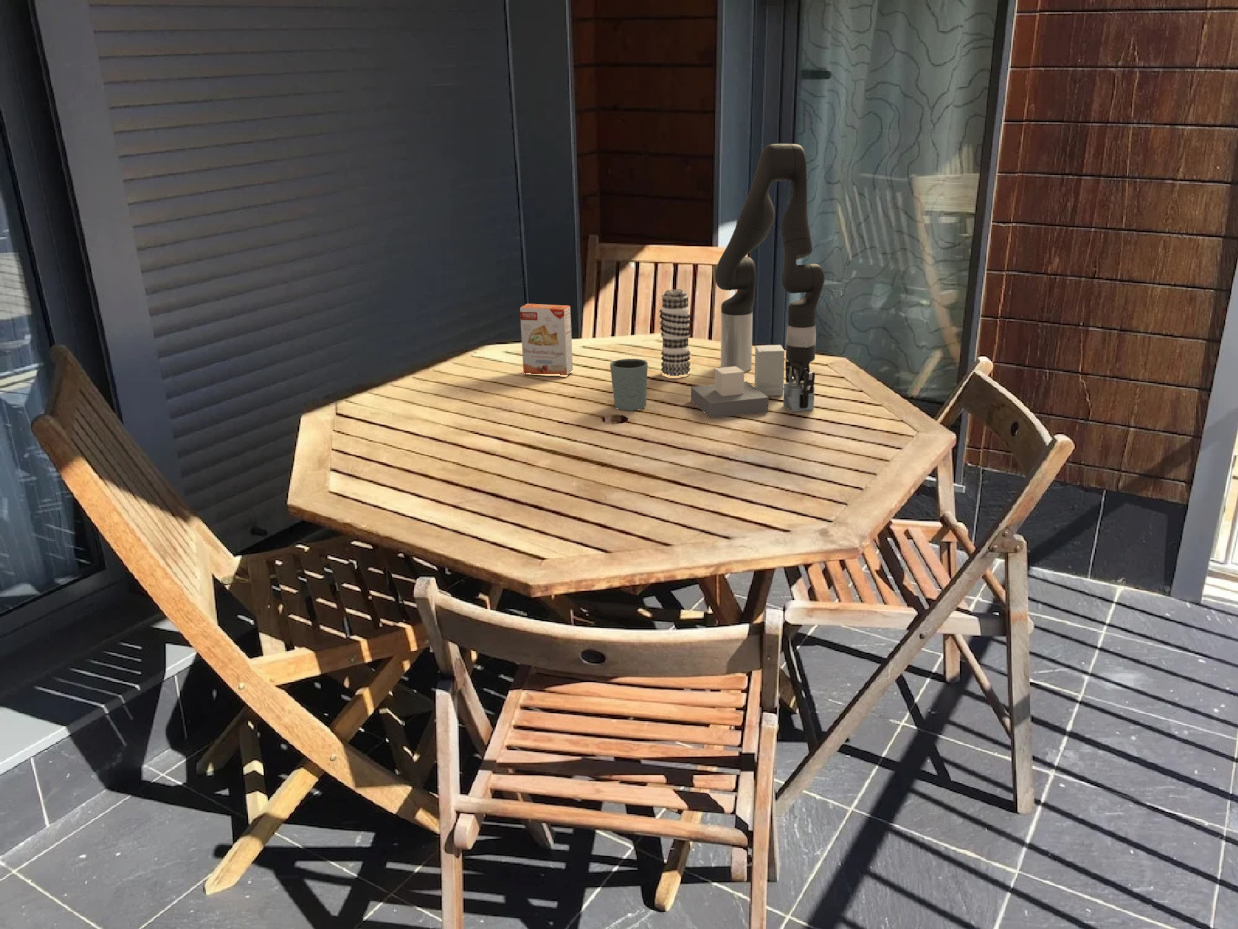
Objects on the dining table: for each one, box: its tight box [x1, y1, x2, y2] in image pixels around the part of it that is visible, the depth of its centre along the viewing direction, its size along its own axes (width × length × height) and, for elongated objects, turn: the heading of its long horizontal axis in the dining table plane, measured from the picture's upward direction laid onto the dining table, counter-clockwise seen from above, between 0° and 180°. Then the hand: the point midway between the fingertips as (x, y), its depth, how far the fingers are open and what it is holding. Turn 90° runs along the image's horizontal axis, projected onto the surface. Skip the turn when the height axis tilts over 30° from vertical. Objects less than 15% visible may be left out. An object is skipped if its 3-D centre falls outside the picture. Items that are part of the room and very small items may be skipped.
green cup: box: [609, 358, 649, 412], centre depth 278 cm, size 10×10×12 cm
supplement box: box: [754, 344, 786, 397], centre depth 287 cm, size 7×7×13 cm
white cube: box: [714, 366, 745, 396], centre depth 275 cm, size 6×6×6 cm
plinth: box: [690, 381, 770, 419], centre depth 276 cm, size 16×16×4 cm
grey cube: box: [782, 382, 816, 413], centre depth 274 cm, size 6×6×6 cm
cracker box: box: [519, 303, 574, 375], centre depth 308 cm, size 14×6×21 cm, turn 73°
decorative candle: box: [658, 288, 692, 376], centre depth 304 cm, size 9×9×25 cm
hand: (798, 403), depth 274 cm, fingers closed on grey cube, 6 cm apart
